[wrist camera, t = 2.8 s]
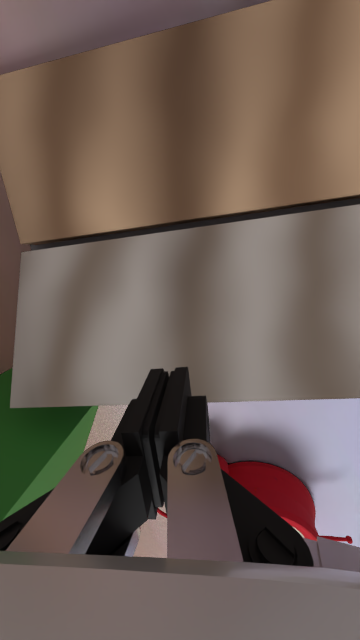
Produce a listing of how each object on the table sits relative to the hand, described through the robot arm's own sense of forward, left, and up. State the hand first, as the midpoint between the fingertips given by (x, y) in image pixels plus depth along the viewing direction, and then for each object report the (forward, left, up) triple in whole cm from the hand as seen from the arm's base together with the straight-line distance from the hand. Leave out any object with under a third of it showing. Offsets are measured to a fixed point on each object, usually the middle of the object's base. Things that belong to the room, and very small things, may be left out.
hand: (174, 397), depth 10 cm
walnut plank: (-2, -13, -8) cm, 15 cm away
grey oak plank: (-2, -2, -5) cm, 6 cm away
